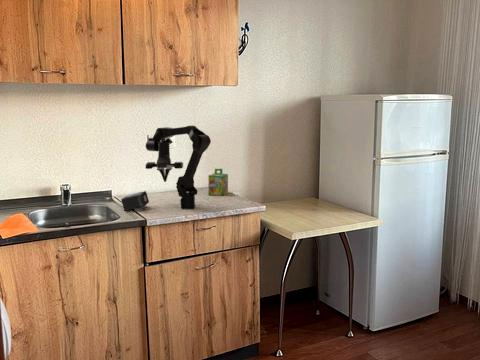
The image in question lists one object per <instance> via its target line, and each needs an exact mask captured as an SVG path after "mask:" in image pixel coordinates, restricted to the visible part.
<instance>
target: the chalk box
mask: <svg viewBox="0 0 480 360" xmlns="http://www.w3.org/2000/svg"><path fill="white" fill-rule="evenodd" d="M223 170H224V169H223V168H215V169H214V173H211V174H208V178H207V179H208V181H207V182H208V188H207V189H208V196H218V197H224V196H225V195H228V192H229V174H228V173H223ZM218 171H219V172H218Z"/></svg>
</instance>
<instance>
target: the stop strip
mask: <svg viewBox="0 0 480 360" xmlns="http://www.w3.org/2000/svg"><path fill="white" fill-rule="evenodd" d="M146 205H147V204H146ZM146 205H145V206H144V207H139V208H134V212H141V211H142V210H143V209H144V208H145V207H146Z"/></svg>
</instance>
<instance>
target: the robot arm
mask: <svg viewBox="0 0 480 360" xmlns="http://www.w3.org/2000/svg"><path fill="white" fill-rule="evenodd" d="M180 135H181V136H182V135H188V138H189V140H190V141H191V142H192V144H191V147H192V152H191V156H190V157H189V160H188V163H187V166H186V169H185V171H184V174H183V175H182V176H179V177H178V178H177V180H176V183H175V185H176V186H175V187H176V191H177V194H178V196H179V197H180V208H181V210H184V209H187V210H188V209H189V210H193V209H195V208H196V201H195V199H196V197H195V196H196V195H198V189H197V188H196V186H195V179H194V177H195V174H196V172H197V170H198V166H199V164H200V163H201V162H200V161H201V158H202V156H203V153H205V152H206V151H207V150H208V148H209V146H210V145H211V137H210V136H209V135H208V134H206V133H205V132H204V131H202V130H201V129H200V128H198V127H197V126H196V125H193V124H192V125H187V126H179V127H174V128H173V127H167V126H165V127H157V128H156V130H155V133H154V134H153V137H148V138H147V141H146V143H145V149H146V150H147V151H148V152H158V155H157V156H158V157H157V160H156V162H155V161H147V162H146V163H145V169H147V170H150V169H151V170H152V169H153V168H156V170H157V171H159V173H160V174H161V177H162V179H163V182H165V183H166V182H167V180H168V176H169V174H170V171H172V170H173V168H174V169H177V170H178V169H180V170H181V169H183V168H184V163H183V161H175V162H174V163H172V159H171V158H170V157H171V151H170V144H173V143H174V142H173V140H171V138H173V137H175V136H180Z"/></svg>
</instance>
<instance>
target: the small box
mask: <svg viewBox="0 0 480 360" xmlns="http://www.w3.org/2000/svg"><path fill="white" fill-rule="evenodd" d="M121 203H122V207H123V210H124V211H125V212H126V211H129V210H135V208H139V207H144V206H145V205H148V204H149V203H150V201H149V197H148V192H147V191H146V190H143V191H139V192H136V193H131V194H128V195H125V196H123V198H121ZM145 207H146V206H145ZM145 207H144V208H145Z"/></svg>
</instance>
